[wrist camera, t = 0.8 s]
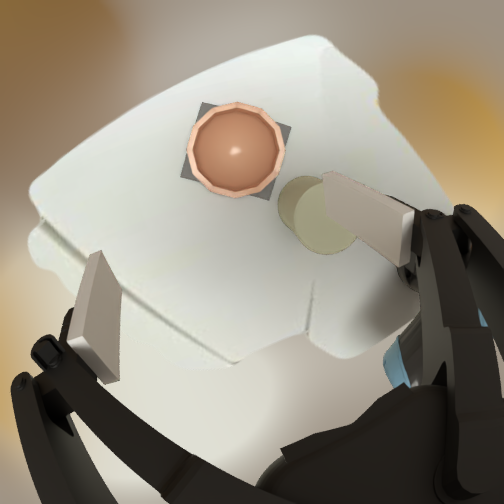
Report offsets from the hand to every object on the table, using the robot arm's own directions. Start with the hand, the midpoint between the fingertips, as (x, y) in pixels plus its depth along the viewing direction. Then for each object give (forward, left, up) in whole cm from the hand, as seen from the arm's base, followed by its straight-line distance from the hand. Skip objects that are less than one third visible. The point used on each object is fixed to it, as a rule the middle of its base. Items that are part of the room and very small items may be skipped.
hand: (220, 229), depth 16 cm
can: (-13, -1, -29) cm, 32 cm away
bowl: (0, -6, -29) cm, 29 cm away
